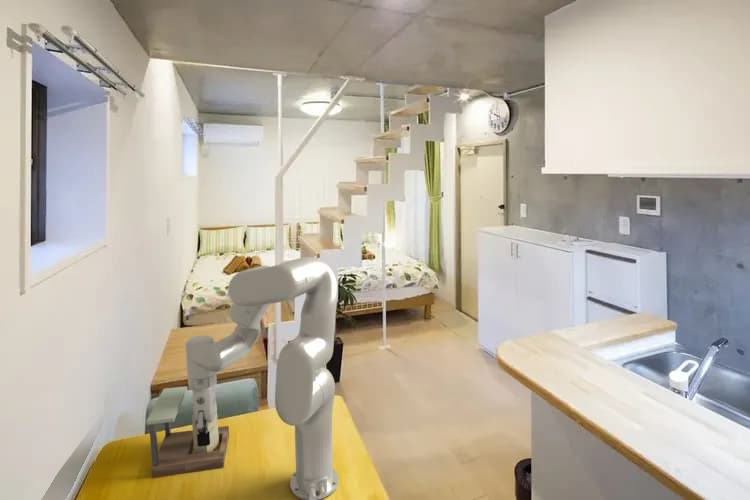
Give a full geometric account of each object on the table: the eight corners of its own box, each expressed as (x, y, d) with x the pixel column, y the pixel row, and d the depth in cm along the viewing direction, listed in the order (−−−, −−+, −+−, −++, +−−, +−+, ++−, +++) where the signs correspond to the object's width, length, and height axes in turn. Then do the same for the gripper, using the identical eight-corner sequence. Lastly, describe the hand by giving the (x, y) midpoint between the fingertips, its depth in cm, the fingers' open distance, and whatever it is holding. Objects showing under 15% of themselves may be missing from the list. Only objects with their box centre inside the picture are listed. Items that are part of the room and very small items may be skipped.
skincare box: (207, 456, 118) (204, 417, 116) (193, 454, 119) (190, 415, 117) (219, 443, 124) (217, 405, 122) (206, 441, 125) (204, 403, 123)
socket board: (222, 470, 114) (219, 412, 112) (151, 480, 110) (146, 421, 107) (229, 432, 132) (226, 382, 129) (167, 440, 127) (163, 388, 125)
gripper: (212, 392, 111) (215, 453, 113) (220, 365, 127) (223, 419, 130) (181, 396, 109) (186, 457, 112) (193, 368, 126) (197, 422, 128)
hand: (206, 436), depth 121 cm, fingers closed on skincare box, 7 cm apart
